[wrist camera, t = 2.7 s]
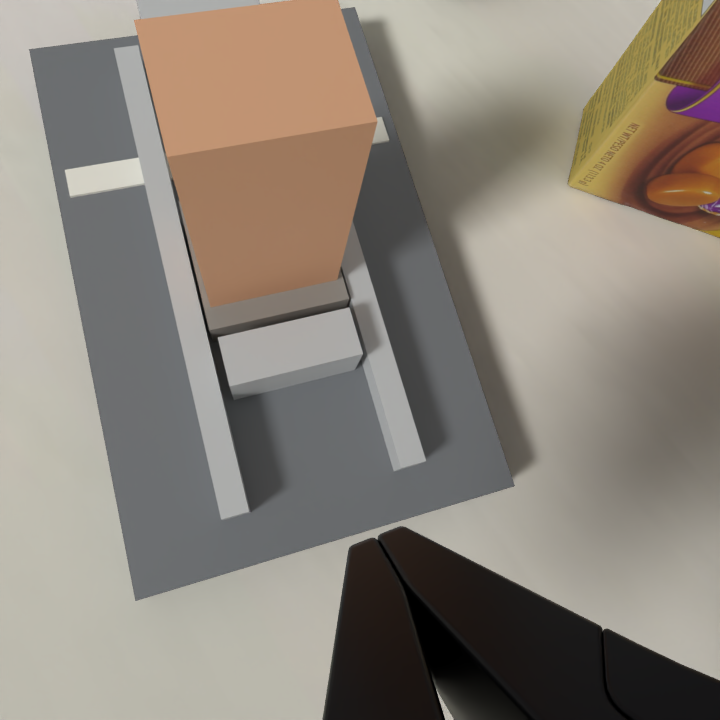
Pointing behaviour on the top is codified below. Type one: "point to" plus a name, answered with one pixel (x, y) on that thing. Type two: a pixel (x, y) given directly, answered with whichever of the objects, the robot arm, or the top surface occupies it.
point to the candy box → (659, 120)
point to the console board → (253, 346)
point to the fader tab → (262, 153)
